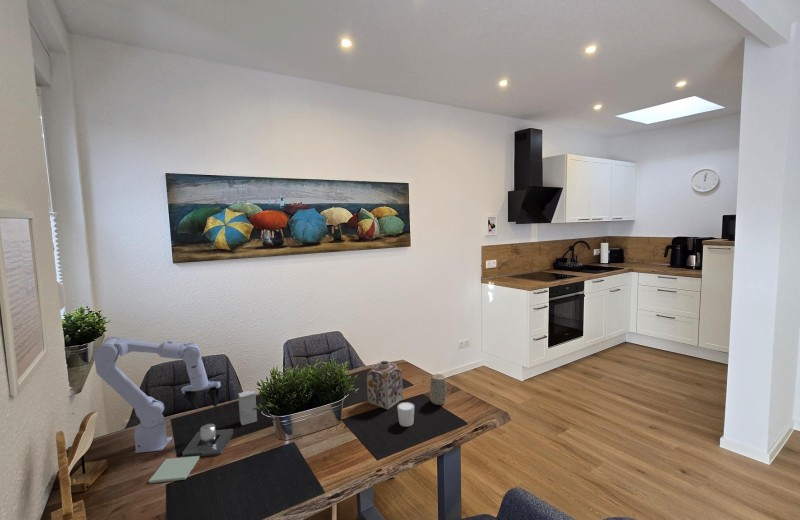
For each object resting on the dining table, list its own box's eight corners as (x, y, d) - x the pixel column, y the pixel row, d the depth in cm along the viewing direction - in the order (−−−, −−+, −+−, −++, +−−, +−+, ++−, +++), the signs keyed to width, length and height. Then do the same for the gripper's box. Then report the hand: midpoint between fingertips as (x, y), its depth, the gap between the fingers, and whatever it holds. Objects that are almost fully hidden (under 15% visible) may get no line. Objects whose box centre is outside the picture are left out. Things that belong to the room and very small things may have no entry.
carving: (443, 407, 161) (442, 380, 160) (427, 403, 165) (426, 377, 164) (449, 401, 167) (448, 375, 165) (433, 397, 171) (432, 372, 169)
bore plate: (182, 457, 133) (182, 452, 132) (198, 436, 145) (197, 431, 145) (221, 454, 134) (220, 448, 134) (233, 433, 147) (232, 428, 147)
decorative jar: (383, 392, 177) (382, 355, 175) (403, 399, 170) (402, 360, 168) (366, 403, 167) (365, 364, 165) (387, 410, 160) (386, 370, 158)
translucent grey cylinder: (199, 449, 137) (197, 431, 136) (205, 441, 142) (203, 424, 141) (213, 448, 138) (212, 430, 137) (218, 440, 142) (217, 423, 142)
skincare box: (242, 426, 152) (239, 397, 151) (239, 421, 156) (237, 393, 154) (257, 421, 155) (255, 393, 154) (255, 416, 159) (253, 389, 158)
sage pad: (149, 483, 120) (148, 480, 120) (166, 461, 131) (166, 459, 131) (185, 479, 121) (185, 477, 121) (199, 457, 132) (199, 455, 132)
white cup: (395, 425, 149) (394, 408, 148) (401, 416, 155) (401, 400, 154) (411, 428, 146) (410, 411, 145) (417, 419, 152) (416, 403, 152)
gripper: (220, 366, 148) (229, 398, 150) (185, 372, 149) (194, 403, 151) (211, 375, 141) (220, 408, 143) (174, 381, 142) (184, 413, 144)
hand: (206, 406), depth 147 cm, fingers open, 7 cm apart
